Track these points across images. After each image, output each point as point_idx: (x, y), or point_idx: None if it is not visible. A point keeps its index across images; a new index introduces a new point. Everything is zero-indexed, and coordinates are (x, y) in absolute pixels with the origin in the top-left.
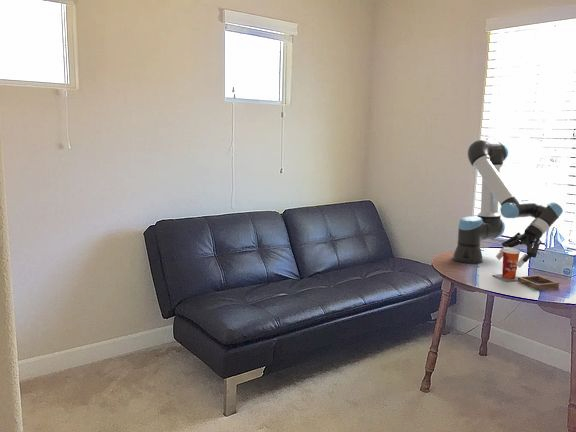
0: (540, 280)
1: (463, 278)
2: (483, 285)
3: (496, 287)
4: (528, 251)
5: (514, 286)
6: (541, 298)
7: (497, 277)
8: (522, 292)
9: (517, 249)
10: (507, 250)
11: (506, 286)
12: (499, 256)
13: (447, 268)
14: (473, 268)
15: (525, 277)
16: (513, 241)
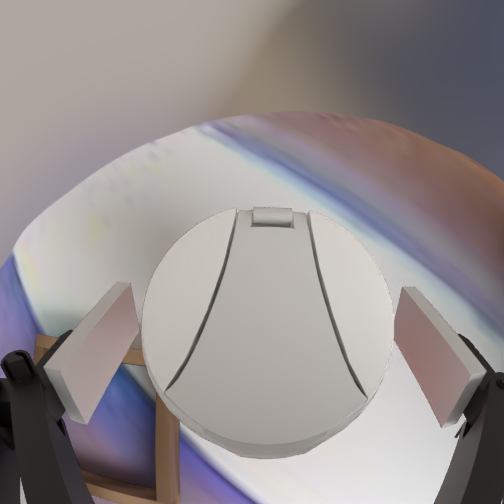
0: (145, 490)
1: (316, 139)
2: (204, 154)
3: (160, 186)
4: (22, 402)
5: (132, 278)
6: (7, 267)
7: None
8: (67, 249)
9: (211, 400)
10: (235, 210)
11: (149, 239)
12: (405, 320)
13: (454, 172)
14: (465, 283)
15: (156, 401)
16: (487, 496)
